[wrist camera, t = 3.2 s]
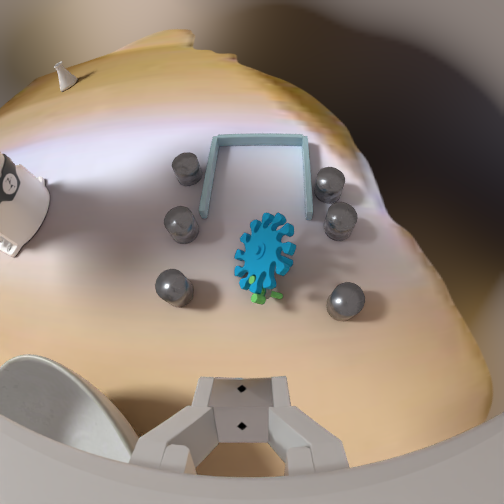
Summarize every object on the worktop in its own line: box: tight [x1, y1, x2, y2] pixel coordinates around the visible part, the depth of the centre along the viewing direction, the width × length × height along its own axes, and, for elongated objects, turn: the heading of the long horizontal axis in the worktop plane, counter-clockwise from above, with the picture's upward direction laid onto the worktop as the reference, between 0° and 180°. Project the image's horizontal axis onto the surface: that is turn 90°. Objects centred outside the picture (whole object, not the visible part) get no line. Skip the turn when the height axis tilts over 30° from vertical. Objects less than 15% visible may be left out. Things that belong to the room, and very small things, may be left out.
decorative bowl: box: [0, 354, 139, 463], centre depth 22 cm, size 27×27×12 cm
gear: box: [234, 213, 296, 304], centre depth 35 cm, size 11×6×10 cm
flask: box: [54, 62, 78, 92], centre depth 62 cm, size 7×7×10 cm
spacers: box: [155, 153, 365, 321], centre depth 38 cm, size 26×24×4 cm
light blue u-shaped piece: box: [199, 134, 313, 220], centre depth 42 cm, size 16×15×2 cm
